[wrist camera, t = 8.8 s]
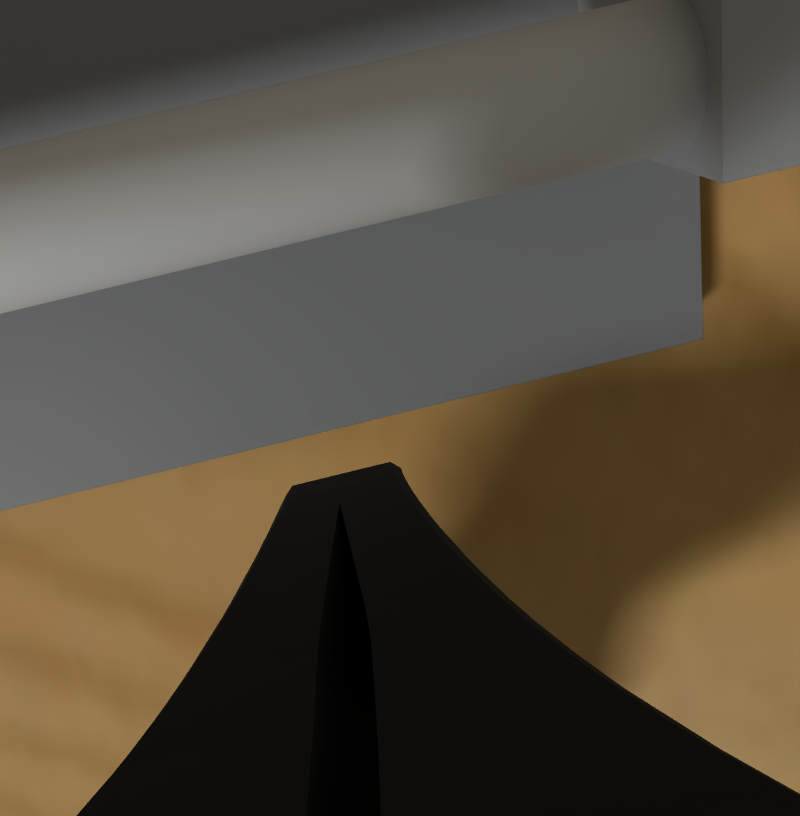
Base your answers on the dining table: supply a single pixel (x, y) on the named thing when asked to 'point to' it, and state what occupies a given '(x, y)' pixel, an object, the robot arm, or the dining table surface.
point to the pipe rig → (350, 208)
